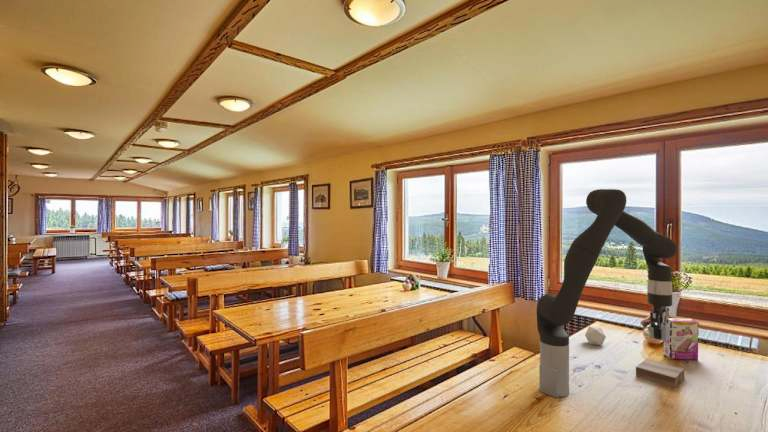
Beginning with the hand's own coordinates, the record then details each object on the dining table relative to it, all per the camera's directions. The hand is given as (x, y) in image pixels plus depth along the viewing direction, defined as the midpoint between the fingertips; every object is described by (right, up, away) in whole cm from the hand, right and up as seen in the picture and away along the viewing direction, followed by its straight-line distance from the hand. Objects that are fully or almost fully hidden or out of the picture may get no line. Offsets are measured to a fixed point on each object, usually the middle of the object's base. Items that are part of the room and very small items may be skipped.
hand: (659, 336), depth 138 cm
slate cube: (0, 0, 0) cm, 0 cm away
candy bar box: (+23, -15, +18) cm, 33 cm away
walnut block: (0, -16, 0) cm, 16 cm away
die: (-4, -15, +35) cm, 39 cm away
